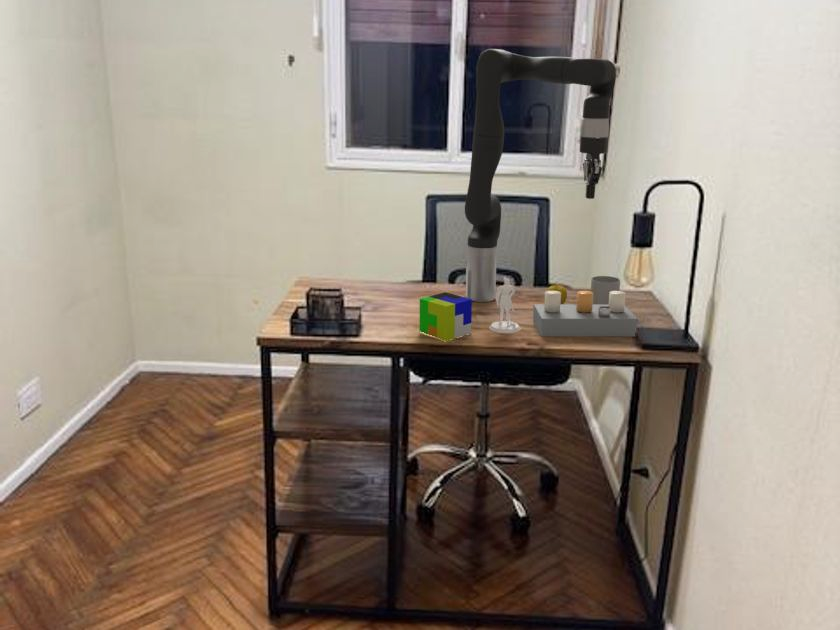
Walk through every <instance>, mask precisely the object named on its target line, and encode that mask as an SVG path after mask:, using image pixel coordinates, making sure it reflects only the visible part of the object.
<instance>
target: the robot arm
mask: <svg viewBox="0 0 840 630" xmlns="http://www.w3.org/2000/svg"><path fill="white" fill-rule="evenodd" d="M616 74H617V71H616V67H615V64H614V63H613V62H612V61H611V60H610V59H605V58H577V57H570V56H569V57H568V56H535V57H534V56H526V55H521V54H516V53H514V52H513V53H512V52H510V51H508V50H507V51H506V50H505V49H497V48H488V49H486V50H483V51H482V52H481V54H480V55H479V57H478V59H477V62H476V74H475V75H476V77H475V79H476V82H475V83H476V102H475V114H474V115H475V117H474V124H473V126H474V127H473V136H472V147H471V158H470V159H471V161H470V172H469V173H470V175H469V181H468V182H469V183H468V188H467V193H466V197H465V204H464V216H465V218H466V220H467V222H468V223H470V224H471V225H472V229H471V231H470V233H469V235H468V237H467V248H466V249H467V256H466V257H467V259H466V261H467V262H466V267H465V268H466V269H465V298H469V299H472V302H478V303H479V302H481V303H485V302H492V301H494V300H496V296H495V293H496V285H497V284H496V283H497V255H498V239H499V238H500V233H501V223H502V222H501V221H502V204H501V201H500V199H499V198H498V196H496V195H495V194H492V187H493V186H492V185H493V181H494V176H495V174H496V171H497V168H498V167H499V164H500V161H501V158H502V154H503V149H504V143H505V142H504V141H505V123H504V120H503V116H502V111H501V107H500V92H501V91H500V90H501V84H502V83H505V82H506V83H507V82H512V81H519V80H524V81H525V80H527V81H528V80H531V81H538V82H544V83H549V84H550V83H551V84H562V85H563V84H564V85H574V84H575V85H580V86H586V87H588V86H589V93H588V95H587V97H585V98H584V101H583V107H582V108H583V109H582V121H581V124H580V137H579V138H580V139H579V141H580V142H579V153H581V154H586V155H585V159H583V162H582V168H583V169H582V170H583V171H582V172H583V180H584V183H585V198H586V199H589V200H591V199H592V200H593V199H595V195H596V193H595V192H596V186H597V185H598V184H599V181H600V178H601V175H602V170H603V168H602V167H603V166H601V165H602V160H601V158H600V157H601V154H606V153H607V152H608V145H609V131H610V123H609V122H610V109H611V108H610V107H611V106H610V105H611V104H610V103H611V99H612V96H613V92H614V87H615V84H616V83H615V82H616V79H617V78H616V77H617V75H616Z"/></svg>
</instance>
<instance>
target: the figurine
mask: <svg viewBox="0 0 840 630" xmlns="http://www.w3.org/2000/svg"><path fill="white" fill-rule="evenodd" d="M502 280H503V282H504V283H503V285H500V286H499V285H498V287H497V289H496V292H495V301H496V306H497V307H499V309H500V311H499V321H494V322H492V323H491V324H490V325H489V327H488V328H489V330H490V331H491V332H494V333H499V334H514V333H517V332H520V331H521V327H520V325H519V324H518V323H516V322H515V321H513V320H512V318H511V315H510V310H512V312H515V310H514V306H513V302H512V296H514V295H515V293H516V287H515V285H512V284H511V282H510V281H511V280H510V279H509V278H507V277H506V276H504V277H503V278H502ZM504 311H505V313H506V314H505V319H506V320H503V319H504Z"/></svg>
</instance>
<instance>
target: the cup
mask: <svg viewBox="0 0 840 630" xmlns="http://www.w3.org/2000/svg"><path fill="white" fill-rule="evenodd" d="M590 279H591V282H590V284H591V285H590V292H593V293H594V294H593V304H609V294H610V292H611V291H620V289H621V278H618V277H613V276H609V275H598V276H597V275H596V276H593V277H592V278H590Z"/></svg>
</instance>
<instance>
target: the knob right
mask: <svg viewBox="0 0 840 630" xmlns="http://www.w3.org/2000/svg"><path fill="white" fill-rule="evenodd" d="M626 295H627V293H626V292H624V291H611V292H610V294H609V307H610V308H611V312H613V313H619V312H624V310H625V306H626Z"/></svg>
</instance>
